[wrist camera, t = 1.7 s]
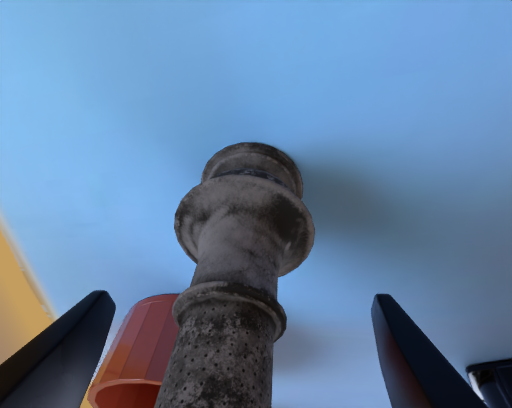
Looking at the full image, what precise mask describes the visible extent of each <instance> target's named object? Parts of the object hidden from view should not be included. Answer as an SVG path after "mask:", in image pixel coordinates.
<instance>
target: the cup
mask: <svg viewBox="0 0 512 408" xmlns="http://www.w3.org/2000/svg"><path fill="white" fill-rule="evenodd" d="M178 295H179V294H164V295H157V296H152V297H148V298H146V299H143V300H141V301H139V302H138V303H136V304H135V305H134V306H133V307H132V308H131V309H130V310H129V312H128V314H127V315H126V317H125V319H124V321H123V323H122V325H121V327H120V329H119V331H118V333H117V335H116V337H115V339H114V341H113V343H112V345H111V347H110V349H109V351H108V353H107V355H106V357H105V359H104V361H103V363H102V365H101V367H100V369H99V371H98V373H97V375H96V377H95V379H94V381H93V383H92V385H91V387H90V389H89V393H88V398H87V399H88V401H89V403H90V404H91V406H92V407H93V408H154V406H155V403H156V399H157V396H158V393H159V390H160V387H161V384H162V381H163V377H164V374H165V371H166V368H167V365H168V362H169V359H170V355H171V352H172V349H173V346H174V343H175V340H176V337H177V333H178V330H179V327H178V326H177V325H176V323H175V321H174V318H173V315H172V310H173V304H174V302H175V300H176V299H177V297H178Z"/></svg>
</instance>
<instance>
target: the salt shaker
mask: <svg viewBox="0 0 512 408" xmlns="http://www.w3.org/2000/svg"><path fill="white" fill-rule="evenodd" d="M302 194H303V183H302V179H301V175H300V172H299V171H298V169H297V167H296V166H295V164H294V162H293V161H292V160H290V159H289V158H288V157H287V156H286V155H285V154H284V153H283V152H281V151H279V150H277V149H275V148H273V147H271V146H268V145H264V144H260V143H238V144H234V145H231V146H227V147H226V148H224V149H222V150H220V151H219V152H217V153H216V154H215V155H214V156H213V157H212V158H211V159H210V160H209V161H208V162H207V164H206V166H205V169H204V171H203V173H202V178H201V184H199V185H197V186H195V187H194V188H192V189H191V190H190V191H189V192H188V193H187V194H186V195H185V197H184V198H183V199H182V200H181V202H180V204H179V206H178V209H177V211H176V213H175V223H174V229H175V233H176V236H177V240H178V242H179V244H180V245H181V247H182V248H183V250H184V252H185V253H186V254H187V255H188V256H189V257H190V258H191V259H192V260H193V261H194V262H195V263H196V264H197V266H196V269H195V272H194V276H193V279H192V282H191V285H190V288H187V289H186V290H185V291H183V292H182V293H181V294H179V295H178V297H177V299H176V300H175V302H174V304H173V310H172V315H173V318H174V321H175V323H176V325H177V326H178V327H179V330H178V333H177V337H176V340H175V343H174V346H173V349H172V352H171V355H170V359H169V362H168V365H167V368H166V371H165V374H164V377H163V381H162V384H161V387H160V390H159V393H158V396H157V399H156V403H155V406H154V408H271V400H272V369H273V343H274V342H275V341H277V340H278V339H279V338H280V337H281V336H282V335H283V333H284V331H285V330H286V323H287V317H286V314H285V312H284V309H283V307H282V306H281V305H280V304H279V303H278V302H277V283H278V277H281V276H284V275H286V274H287V273H289V272H291V271H292V270H294V269H296V268H297V267H298V266H299V265H300V264H301V263H302V262H303V261H304V260H305V259H306V258H307V257H308V255H309V253H310V251H311V249H312V247H313V244H314V235H315V229H314V225H313V221H312V217H311V214H310V213H309V211H308V209H307V208H306V206H305V205H304V203H303V202H302V201H301V199H302Z"/></svg>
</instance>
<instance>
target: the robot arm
mask: <svg viewBox="0 0 512 408" xmlns="http://www.w3.org/2000/svg"><path fill="white" fill-rule="evenodd" d="M115 310H116V305H115V303H114V301H113V300H112V298H111V296H110V295H109V293H108V292H107V291H105V290H96V291H93V292H91V293H90V294H89V295H87V296H86V297H85V298H84V299H82V300H81V301H80V302H79V303H77V304H76V305H75V306H74V307H72V308H71V309H70V310H69V311H67V312H66V313H65V314H64V315H62V316H61V317H60V318H59V319H57V320H56V321H55V322H54V323H52V324H51V325H50V326H49V327H47V328H46V329H45V330H44V331H42V332H41V333H40V334H39V335H37V336H36V337H35V338H34V339H32V340H31V341H30V342H29V343H27V344H26V345H25V346H24V347H22V348H21V349H20V350H19V351H17V352H16V353H15V354H14V355H12V356H11V357H10V358H8V359H7V360H6V361H5V362H3V363H2V364H1V365H0V408H80V405H81V403H82V400H83V398H84V396H85V393H86V391H87V389H88V386H89V384H90V381H91V379H92V377H93V374H94V372H95V369H96V367H97V365H98V362H99V360H100V357H101V355H102V352H103V349H104V346H105V343H106V339H107V336H108V333H109V330H110V327H111V323H112V320H113V317H114V314H115ZM371 316H372V322H373V328H374V333H375V339H376V345H377V351H378V356H379V362H380V367H381V371H382V374H383V378H384V381H385V385H386V388H387V392H388V395H389V399H390V402H391V406H392V408H512V361H504V362H497V363H490V364H483V365H476V366H470V367H467V368H466V372H467V375H468V378H469V381H470V384H471V387H472V388H471V387H470V386H469V384H468V383H467V382H466V381H465V380H464V379H463V378H462V376H461V375H460V374H459V373H458V372H457V371H456V370H455V368H454V367H453V366H452V365H451V364H450V363H449V362H448V360H447V359H446V358H445V357H444V356H443V355H442V353H441V352H440V351H439V350H438V349H437V348H436V347H435V345H434V344H433V343H432V342H431V341H430V340H429V339H428V337H427V336H426V335H425V334H424V333H423V332H422V331H421V329H420V328H419V327H418V326H417V325H416V324H415V323H414V321H413V320H412V319H411V318H410V317H409V316H408V315H407V313H406V312H405V311H404V310H403V309H402V308H401V307H400V305H399V304H398V303H397V302H396V301H395V300H394V299H393V297H392V296H391V295H389V294H376V295H375V296H374V300H373V304H372V308H371ZM485 403H486V404H485Z"/></svg>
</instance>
